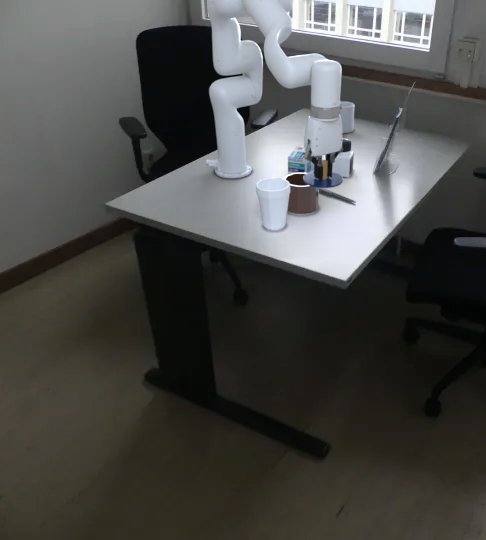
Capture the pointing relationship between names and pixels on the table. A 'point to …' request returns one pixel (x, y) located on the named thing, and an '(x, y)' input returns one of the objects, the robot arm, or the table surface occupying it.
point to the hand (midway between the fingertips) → (323, 176)
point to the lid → (326, 181)
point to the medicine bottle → (344, 160)
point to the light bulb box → (299, 162)
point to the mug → (347, 116)
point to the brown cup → (301, 195)
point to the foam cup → (273, 201)
